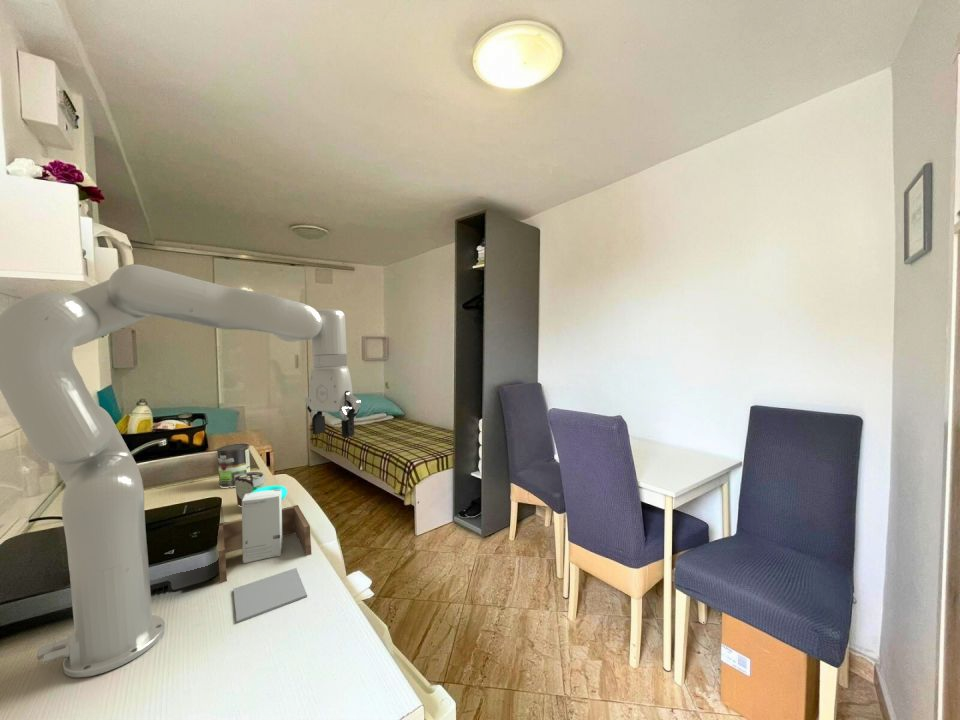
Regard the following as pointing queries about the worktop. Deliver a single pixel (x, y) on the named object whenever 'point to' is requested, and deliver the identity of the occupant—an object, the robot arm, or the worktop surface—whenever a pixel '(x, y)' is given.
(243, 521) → the skincare box
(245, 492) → the food container
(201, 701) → the worktop surface
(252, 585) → the pad
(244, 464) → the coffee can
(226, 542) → the wooden open bay
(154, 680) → the worktop surface
